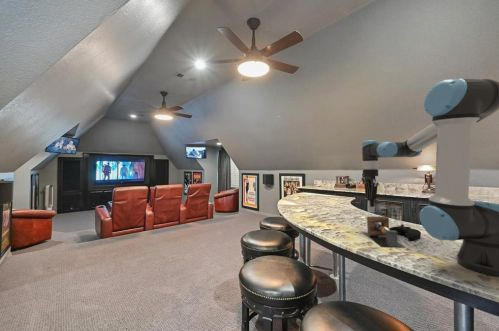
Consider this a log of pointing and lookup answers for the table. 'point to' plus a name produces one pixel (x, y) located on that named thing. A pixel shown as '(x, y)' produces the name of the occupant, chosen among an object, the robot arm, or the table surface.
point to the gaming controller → (411, 232)
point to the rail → (385, 237)
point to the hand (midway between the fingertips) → (371, 212)
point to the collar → (371, 225)
